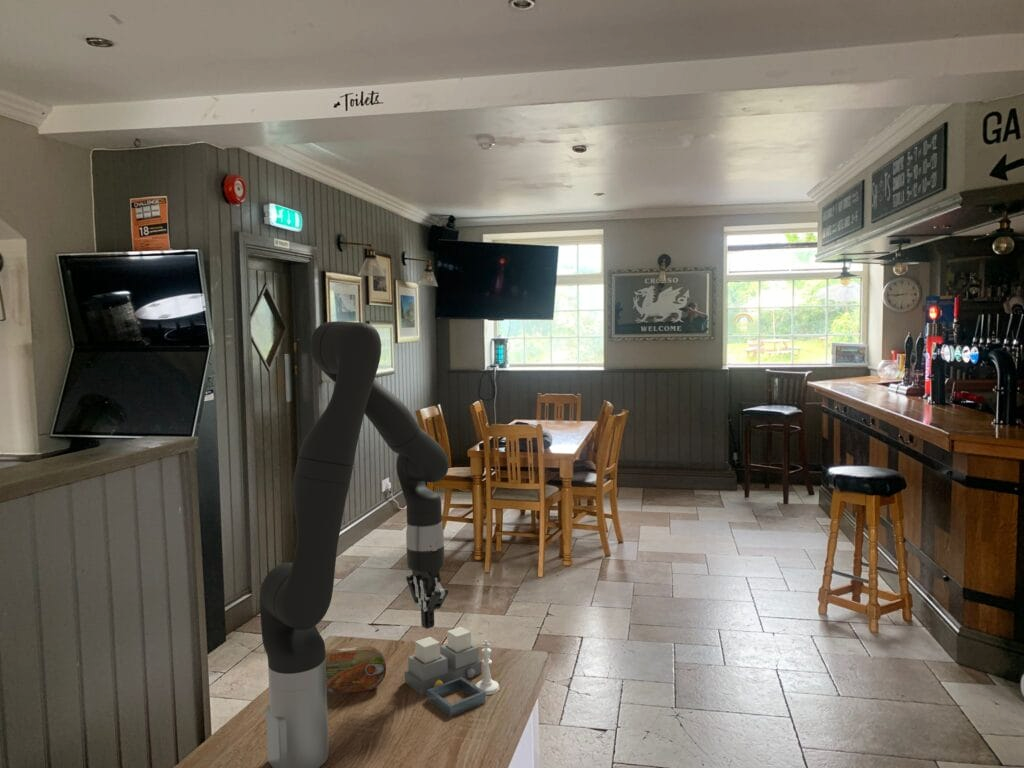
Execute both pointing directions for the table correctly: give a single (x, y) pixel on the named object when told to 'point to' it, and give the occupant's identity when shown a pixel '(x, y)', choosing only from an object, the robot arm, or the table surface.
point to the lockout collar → (459, 706)
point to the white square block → (427, 650)
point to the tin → (354, 669)
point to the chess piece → (487, 673)
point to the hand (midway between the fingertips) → (428, 626)
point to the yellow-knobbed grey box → (442, 668)
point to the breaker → (459, 639)
